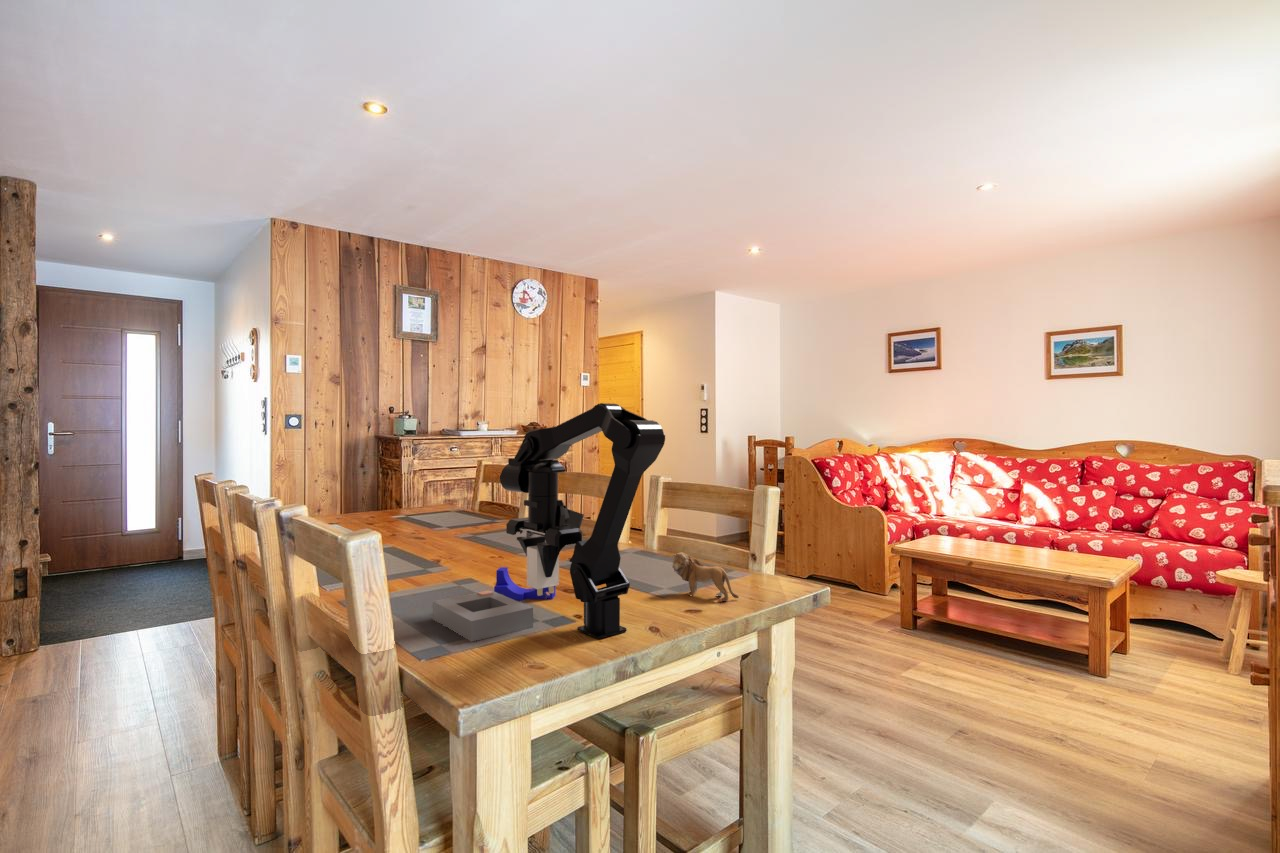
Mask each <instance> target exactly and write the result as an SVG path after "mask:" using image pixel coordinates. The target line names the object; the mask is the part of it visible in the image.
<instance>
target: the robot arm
mask: <svg viewBox="0 0 1280 853" xmlns="http://www.w3.org/2000/svg"><path fill="white" fill-rule="evenodd" d="M601 432H602V433H603V436H604V437H605V438H607V439H608V440H609V441H611V442H612V446H611V454H612V458H613V463H614V466H613V470H612V473H611V476H610V478H609V479H610V480H609V482H608V484H607V488H606V491H605V493H604V498H603V500H602V502H601V506H600V509H599V512H598V515H597V518H596V520H595V523H594V527H593V530H592V532H591V535H590V537H589V538H588V539H585V540H583V538H584V537H583V535H584V533H583V531H582V530H581V527H582V524H583V520H584V516H585V514H584V513H581V512H578V511H575V510H572V509H568V506H567V505H565V504H564V501H563V500H562V499H559V474H560V473H566V467H564V465H562V464H561V463H560V461H559V460H558V459H560V458H561V457H562V456H564V455H565V454H567V453H568V452H569V450H570V448H571V446H573V445H574V444H576V443H579V442H581V441H583V440H585V439H587V438H589V437H593V436H594V435H597V434H599V433H601ZM665 441H666V434H665V433H664V430H663V427H662V425H661V424H660V423H659V422H658V421H655V420H651V419H650V420H649V419H647V418H646V417H643V416H641V415H638V414H636V413H634V412H631V411H630V410H627V409H626V408H624V407H623V406H621V405H619V404H618V403H607V402H601V403H597V404H596V405H594V406H593V407H592V408H590V409H588V410H586V411H583V412H582V413H579V414H578V415H576V416H574V417H572V418H570V419H567V420H565V421H563V422H562V423H560V424H558V425H556V426H552V427H544V428H538V429H534V430H533V429H532V430H529V431H527V432H526V433H525V434H524V437H523V439H522V442H521V444H520V446H519V448H518V450H517V453H516V454H515V456H514V457H512V458H508V460H507V461H508V463H507V464H506V465H505V466H504V467H503V468H502V470H501V472H500V475H499V482H500V485H501V487H502V488H503V489H504V490H506V491H509V492H517V493H525V494H528V496H527V498H528V499H523V506H527V507H528V509H527V510H528V511H527V512H528V514H527V515H528V516H527V517H520V518H519V517H518V518H511V519H509V520H508V521H507V523H506V524H505V525H506V526H505V527H506V530H505V531H506V534H508V535H512V536H514V535H516V534H517V533H519V536H517V537H516V541H518V543H519V544H520V546H521V548H522V550H523V551H524V553H525V556H526V557H527V547H530V546H537V547H538V551H539V554H540V558H541V562H542V566H543V570H544V573H545V576H546V577H547V578H548V577H551V576H552V573H553V570H554V567H555V564H556V561H557V558H558V555H559V556H560V553H561V551H562V550H563V549H564V548H565V547H566V546H571V545H574V549H573V554H572V556H571V558H570V559H569V563H570V567H569V574H570V579H571V583H572V587H573V592H574V596H575V599H576V600H579V601H580V602H581V603H583V625H580V626H577V627H576V628H577V631H578V632H581V633H583V634H585V635H588V636H591V637H593V638H595V639H604V638H607V637H611V636H614V635H618V634H622V633H625V632H627V630H628V628H626V627H625V626H622V625H621V624H620V623H621V618H620V617H621V612H620V610H621V606H620V605H621V603H620V602H621V599H620V597H619V596H622V595H627V594H628V592H629V588H630V582H629V580H628V579H627V577H626V575H625V574H624V572H623V570H622V569H621V568H620V564H621V554H620V553H621V552H620V550H619V546H618V545H619V541H620V539H621V536H622V533H623V530H624V527H625V524H626V522H627V519H628V516H629V513H630V510H631V508H632V505H633V502H634V499H635V496H636V493H637V491H638V488H639V484H640V482H641V479H642V476H643V474H644V473H645V472H646V471H647V470H648V469H649V468H650V467H651V466H652V465H653V464H654V463H655V461H656V460H657V458H658V457H659V455H660V453H661V451H662V449H663V447H664V445H665ZM602 585H605V586H603V587H599V588H597V587H598V586H602Z"/></svg>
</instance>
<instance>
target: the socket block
mask: <svg viewBox="0 0 1280 853" xmlns="http://www.w3.org/2000/svg"><path fill="white" fill-rule="evenodd" d="M434 620H435V622H436V621H437V622H436V623H438V622H439V623H441V624H443V625H444V626H443V625H442V626H443V627H445V626H446V627H448V628H449V629H448V628H447V629H448V630H450V629H451V630H450V631H452V630H453V631H454V633H455V632H456V633H455V634H457V633H458V634H457V635H459V636H460V635H461V636H460V637H462V636H463V637H462V638H464V639H465V640H467V639H468V640H467V641H469V642H471V643H472V641H473V642H476V640H477V641H481V640H486V639H489V638H493V637H497V636H501V635H506V634H509V633H510V634H511V633H514V632H518V631H521V630H522V631H523V630H526V629H531V628H533V627H534V608H533V607H532V606H531V605H527V604H525V603H523V602H522V601H516V600H513V599H511V598H509V597H506V596H504V595H501V594H499V593H497V592H494V590H491V589H489V590H484V591H483V590H482V591H479V592H473V593H468V594H463V595H458V596H456V595H455V596H451V597H447V598H441V599H437V600H432V621H434ZM439 623H438V624H439ZM441 624H440V625H441ZM446 627H445V628H446ZM453 631H452V632H453Z"/></svg>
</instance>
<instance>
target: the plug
mask: <svg viewBox="0 0 1280 853" xmlns="http://www.w3.org/2000/svg"><path fill="white" fill-rule="evenodd" d="M559 585H560V554H559V555H558V558H557V561H556V564H555V567H554V570H553V573H552V576H551V577H548V578H547V577H546V576H545V573H544V570H543V566H542V562H541V558H540V554H539V551H538V547H537V546H530V547H527V556H526V586H527V587H530V588H531V589H532V588H535V589H537V595H538V596H541V595H543V588H546V587H549V593H554V586H555V587H556V586H559ZM549 593H548V594H549Z"/></svg>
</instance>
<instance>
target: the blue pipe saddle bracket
mask: <svg viewBox="0 0 1280 853" xmlns="http://www.w3.org/2000/svg"><path fill="white" fill-rule="evenodd" d="M508 569H509V568H508V567H507V566H506V567H505V566H503V567H502V566H500V567H499V568H498V569H497V570H496V571H495V572H496V574H495V576H496V578H495V579H496V582H495V585H494V586H493V591H494V592H497V593H499V594H501V595H504V596H506V597H509V598H511V599H513V600H516V601H518V602H522V601H524V600H553V599H554V598H555V597H556V586H554V593H549V587H546V588H543V595H541V596H538V595H537V589H535V588H532V587H531V588H526V587H525V588H524V587H521V586H519V585H518V584H516V583H515V582H514V581H513V580H512V578H511V577H510V574H509V570H508Z"/></svg>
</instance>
